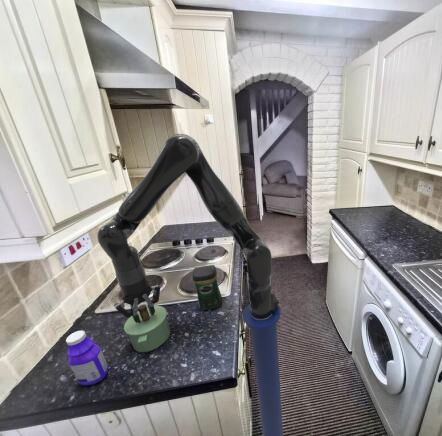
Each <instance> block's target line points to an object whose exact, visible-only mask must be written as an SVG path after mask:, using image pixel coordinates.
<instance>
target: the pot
mask: <svg viewBox="0 0 442 436" xmlns="http://www.w3.org/2000/svg"><path fill="white" fill-rule="evenodd" d="M154 306H156V304H154ZM127 335H128V337H129V340H130V343H131V345H132V348H133V350H135V351H136V352H137V353H148V352H151V351H154V350H156V349H157V348H159V347H161V346H162V345H164V344H165V342H167V340H168V339H169V337H170V335H171V326H170V323H169V319H168V316H166V318H165V320H164V321H163V323H162V324H161V325H159V326H158V327H157V328H155V329H154V330H152V331H150V332H148V333H146V334H142V335H137V336H133V335H129V334H127Z"/></svg>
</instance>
